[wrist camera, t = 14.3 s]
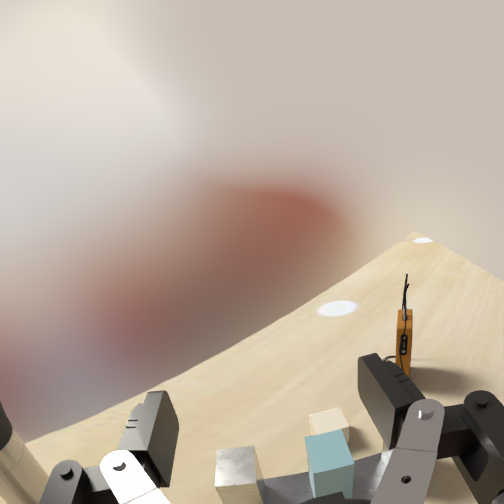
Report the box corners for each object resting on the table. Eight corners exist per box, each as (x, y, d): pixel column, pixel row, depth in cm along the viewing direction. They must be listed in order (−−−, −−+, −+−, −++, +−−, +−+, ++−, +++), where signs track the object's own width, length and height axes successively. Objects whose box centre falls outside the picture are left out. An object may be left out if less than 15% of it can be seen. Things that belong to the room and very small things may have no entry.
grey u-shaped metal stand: (232, 529, 29) (212, 493, 26) (232, 486, 36) (215, 444, 34) (428, 483, 29) (443, 438, 26) (407, 447, 36) (416, 400, 34)
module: (316, 509, 29) (313, 473, 27) (308, 475, 35) (304, 435, 33) (351, 501, 29) (354, 463, 27) (340, 468, 35) (340, 427, 33)
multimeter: (364, 356, 63) (361, 267, 59) (409, 356, 59) (412, 265, 54) (351, 400, 51) (348, 299, 46) (406, 402, 46) (414, 298, 41)
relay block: (317, 451, 41) (316, 435, 40) (310, 431, 46) (308, 414, 45) (349, 442, 41) (349, 426, 40) (339, 423, 46) (339, 406, 45)
